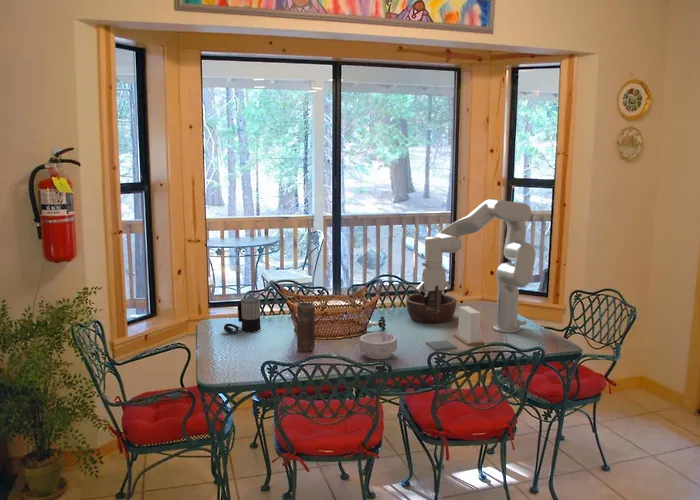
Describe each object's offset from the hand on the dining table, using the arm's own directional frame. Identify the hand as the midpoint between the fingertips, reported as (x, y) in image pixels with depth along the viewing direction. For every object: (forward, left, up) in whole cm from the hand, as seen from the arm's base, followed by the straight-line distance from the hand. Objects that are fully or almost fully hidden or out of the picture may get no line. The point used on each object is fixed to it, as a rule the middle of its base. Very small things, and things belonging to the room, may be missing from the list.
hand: (433, 304), depth 265 cm
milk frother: (+81, -35, -16) cm, 89 cm away
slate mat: (0, +10, -16) cm, 19 cm away
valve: (+23, -20, -16) cm, 34 cm away
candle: (+57, 0, -16) cm, 60 cm away
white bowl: (+30, +15, -16) cm, 38 cm away
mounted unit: (-15, +6, -16) cm, 22 cm away
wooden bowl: (-13, -32, -16) cm, 38 cm away
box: (0, 0, -3) cm, 3 cm away
